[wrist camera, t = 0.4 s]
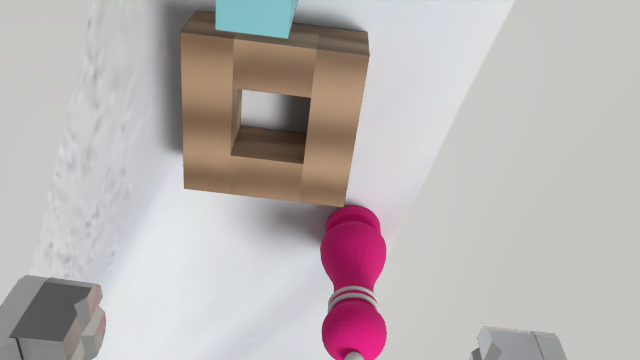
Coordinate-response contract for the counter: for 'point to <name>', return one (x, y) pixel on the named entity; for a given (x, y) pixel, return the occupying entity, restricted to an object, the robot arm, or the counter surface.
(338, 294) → the pepper mill
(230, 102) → the wooden holder
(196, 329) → the counter surface
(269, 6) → the teal rectangular block
